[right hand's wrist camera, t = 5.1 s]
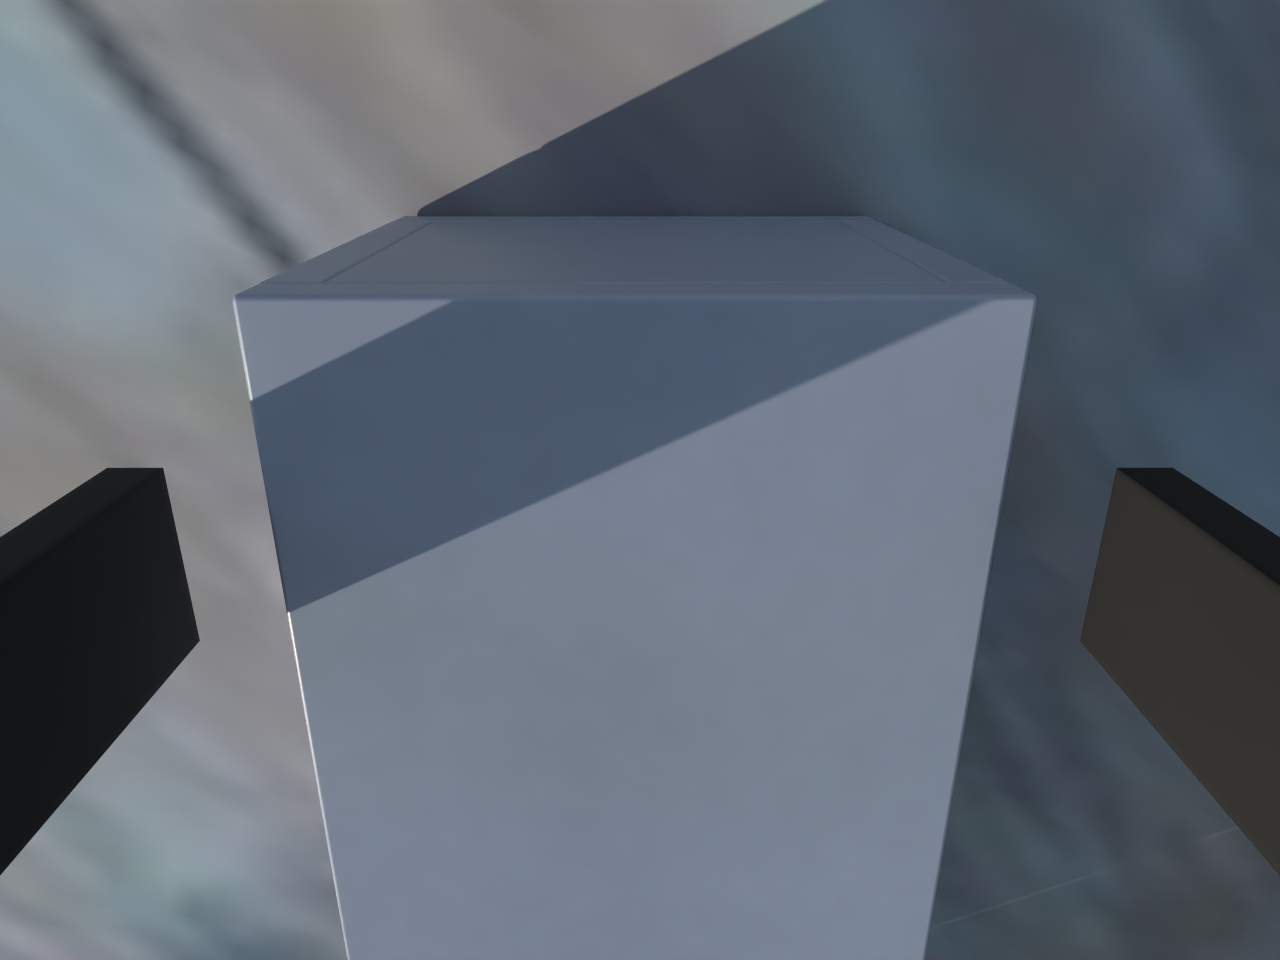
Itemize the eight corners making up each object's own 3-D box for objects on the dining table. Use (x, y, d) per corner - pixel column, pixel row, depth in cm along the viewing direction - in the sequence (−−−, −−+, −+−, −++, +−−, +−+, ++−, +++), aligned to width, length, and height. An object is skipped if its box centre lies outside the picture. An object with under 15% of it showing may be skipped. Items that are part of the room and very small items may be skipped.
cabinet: (803, 910, 26) (875, 1256, 18) (470, 911, 26) (398, 1259, 18) (869, 216, 18) (1041, 294, 11) (401, 215, 18) (228, 294, 11)
